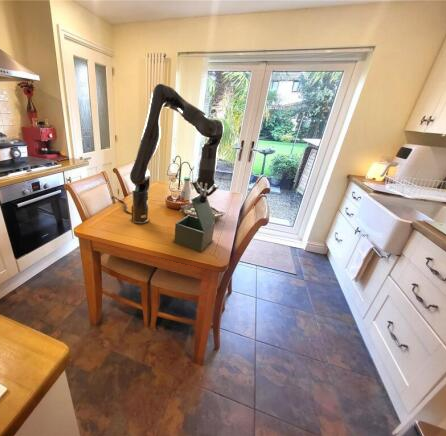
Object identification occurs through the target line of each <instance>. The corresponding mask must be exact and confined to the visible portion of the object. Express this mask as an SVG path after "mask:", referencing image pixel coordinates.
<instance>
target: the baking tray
mask: <svg viewBox="0 0 446 436" xmlns="http://www.w3.org/2000/svg"><path fill="white" fill-rule="evenodd" d="M180 208H181V209H180V210H179V212H181V213H183V214H185V215H186V216H188V215H190V216H193V217H197V214H196V212H195V209H194V206H193V203H192V202H191V203H189V204H188V205H185V206H182V205H180ZM210 208H211V211H212V213H213V216H214V219H215V221H217V220H219V219H220V218H223V216H224V215H226V214H227V213H226V212H225V211H219V210H217V209H216V208H215V207H212V206H210ZM197 218H198V217H197Z"/></svg>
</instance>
